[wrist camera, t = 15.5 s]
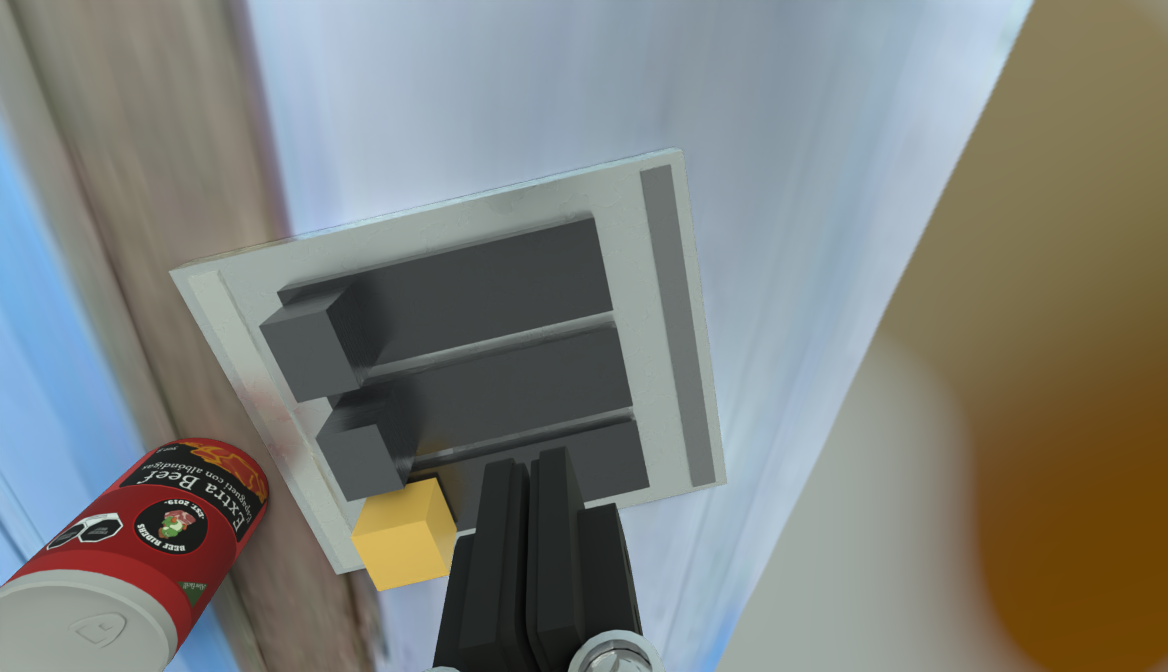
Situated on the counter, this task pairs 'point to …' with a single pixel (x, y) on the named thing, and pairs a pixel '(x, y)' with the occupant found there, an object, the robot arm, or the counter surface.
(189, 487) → the canned food
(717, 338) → the counter surface
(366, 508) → the mustard yellow cube
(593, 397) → the panel
